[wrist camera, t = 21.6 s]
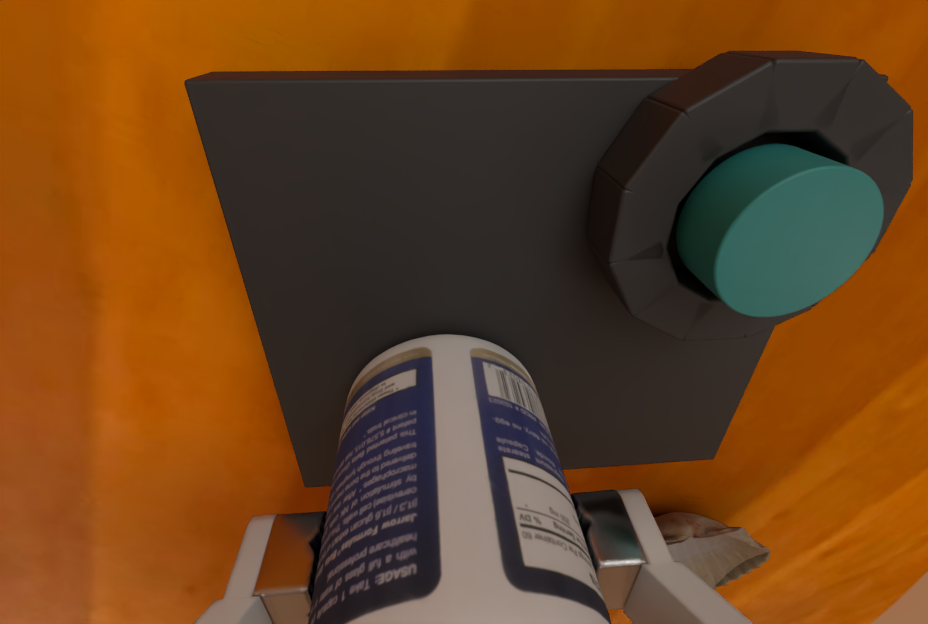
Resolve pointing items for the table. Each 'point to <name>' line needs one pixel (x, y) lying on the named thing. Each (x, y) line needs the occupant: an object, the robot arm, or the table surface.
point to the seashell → (711, 547)
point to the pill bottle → (450, 498)
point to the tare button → (778, 228)
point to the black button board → (520, 228)
